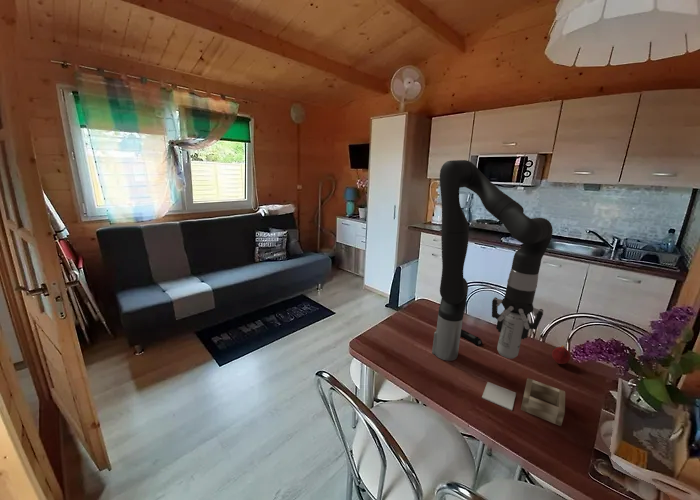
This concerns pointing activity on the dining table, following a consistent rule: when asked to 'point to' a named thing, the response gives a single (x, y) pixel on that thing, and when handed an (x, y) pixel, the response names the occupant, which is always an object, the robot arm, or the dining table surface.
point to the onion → (561, 355)
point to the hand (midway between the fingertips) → (511, 334)
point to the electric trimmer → (471, 338)
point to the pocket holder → (541, 407)
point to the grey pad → (499, 395)
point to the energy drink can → (510, 335)
